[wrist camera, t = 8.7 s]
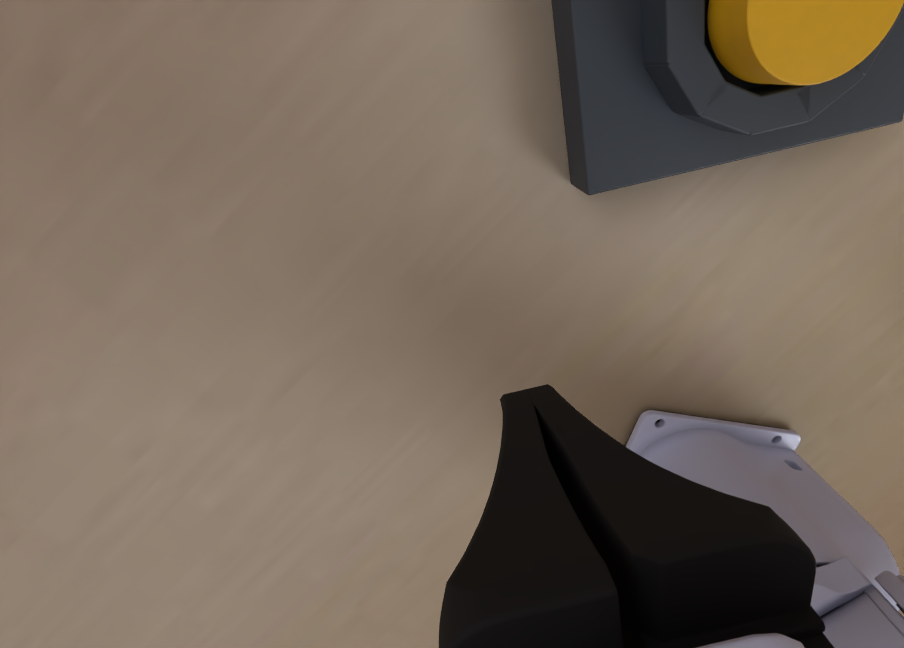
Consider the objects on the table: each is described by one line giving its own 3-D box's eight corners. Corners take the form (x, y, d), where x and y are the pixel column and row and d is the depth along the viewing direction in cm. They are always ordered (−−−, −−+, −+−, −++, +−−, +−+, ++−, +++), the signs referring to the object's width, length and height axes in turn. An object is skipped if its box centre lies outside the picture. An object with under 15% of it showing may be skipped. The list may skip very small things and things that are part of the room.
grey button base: (900, -209, 17) (1037, -283, 13) (856, 116, 21) (949, 126, 18) (538, -122, 17) (576, -173, 13) (570, 184, 21) (605, 207, 18)
